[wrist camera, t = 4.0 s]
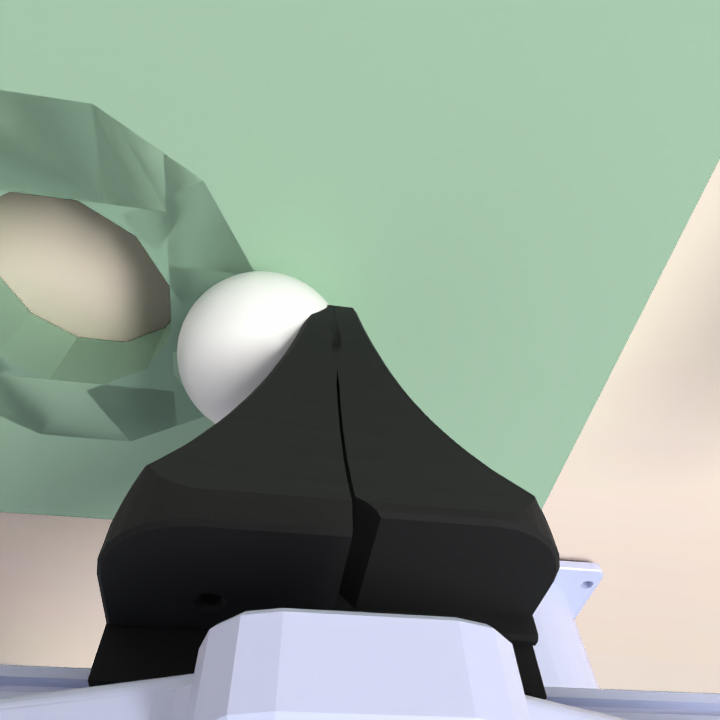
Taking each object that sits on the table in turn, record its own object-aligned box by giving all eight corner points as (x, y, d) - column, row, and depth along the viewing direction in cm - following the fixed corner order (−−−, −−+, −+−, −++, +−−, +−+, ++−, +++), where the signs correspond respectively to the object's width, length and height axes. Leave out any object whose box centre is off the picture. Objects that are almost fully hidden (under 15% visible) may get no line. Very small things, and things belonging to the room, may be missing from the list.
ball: (176, 476, 12) (173, 357, 14) (342, 466, 13) (312, 358, 15) (183, 347, 9) (177, 231, 12) (384, 349, 11) (340, 244, 13)
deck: (508, 501, 21) (522, 547, 20) (-69, 457, 19) (-106, 504, 17) (788, -122, 11) (867, -134, 9) (-401, -385, 9) (-573, -465, 7)
